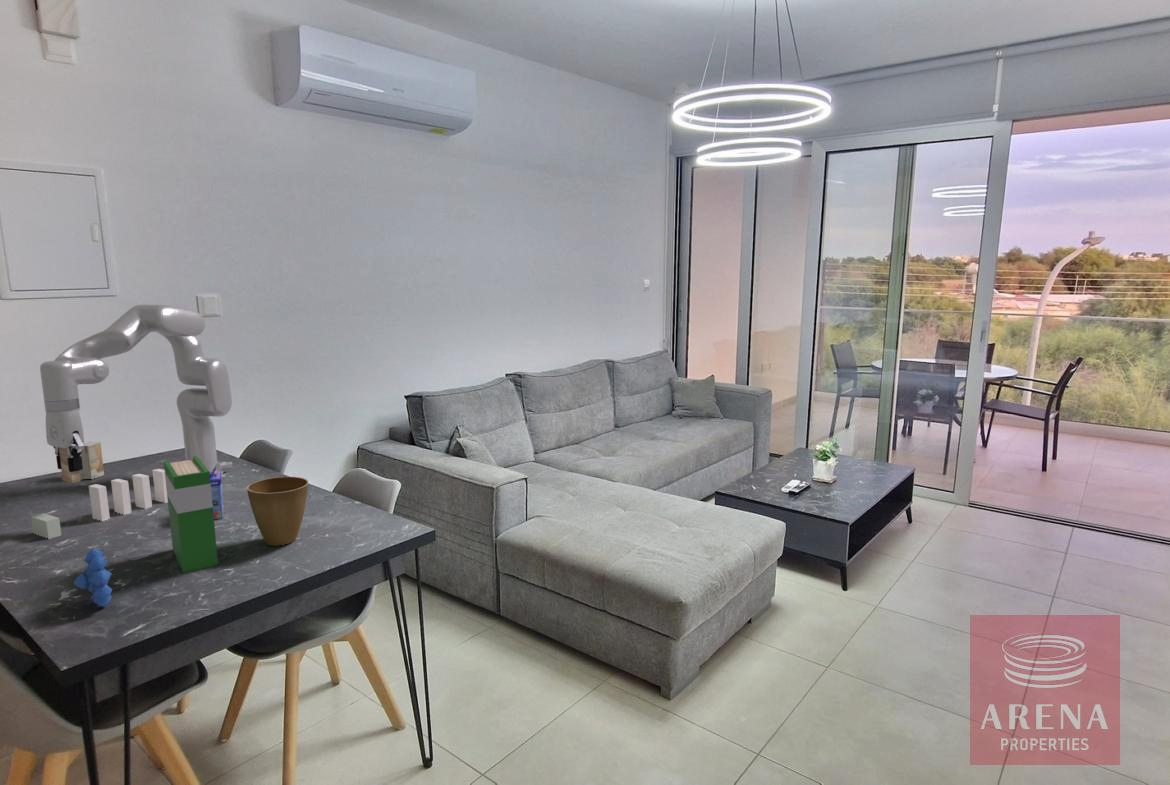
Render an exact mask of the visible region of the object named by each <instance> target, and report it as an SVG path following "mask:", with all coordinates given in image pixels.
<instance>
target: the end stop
mask: <svg viewBox="0 0 1170 785" xmlns="http://www.w3.org/2000/svg"><path fill="white" fill-rule="evenodd" d="M30 521H31V526H32V534H33V533H34V534H33V535H35V534H36V535H35V536H38V535H39V536H38V537H41V536H42V538H44V537H45V538H44V539H47V538H48V539H47V540H51V539H54V538H57V537H61V536H62V528H61V522H60V517H57V516H55V515H51V514H47V513H44V512H42V513H39V514H36V515H32V516H30Z"/></svg>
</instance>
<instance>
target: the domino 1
mask: <svg viewBox="0 0 1170 785" xmlns="http://www.w3.org/2000/svg"><path fill="white" fill-rule="evenodd" d="M71 446H73V444H71ZM73 449H75V448H72V449H71V450H72V451H73ZM59 455H60V461H61V469H60V471H61V476H62V477H61V478H62V481H63V482H68V483H71V484H72V483H73V484H74V483H78V482H81V480H82V479H80V472H79V471H74V472H69V468H68V460H67V458H69V456H68V452H67V448H59Z"/></svg>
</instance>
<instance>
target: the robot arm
mask: <svg viewBox="0 0 1170 785" xmlns="http://www.w3.org/2000/svg"><path fill="white" fill-rule="evenodd" d="M205 328H206V320H205V318H204V317H203V315H202V314H201V313H199V312H198V311H196V310H191V309H186V308H181V307H176V306H173V305H164V304H138V305H137V304H136V305H134V306H132V307H131V308H129V309H128V310H127V311H126V312H125V313H123V314H122V315H121V316H120V317H119V318H118V319H117V320H115V321H114V322H113V323H111V325H110V326H108V327H107V328H106V329H104V330H102V331H100V332H97V333H95V334H92V335H91V336H88V337H86V338H84V339H81V340H79V341H77V342H75V343H74V344H72V345H70V346H69V347H67V348H66V349H65V350H64V351H62V352H61V353H60V354H59V355H57V357H56V358H55V359H54V360H51V361H50V360H48V361H44V362H42V363H41V364H40V367H39V370H40V372H39V373H40V378H41V379H40V380H41V388H42V394H43V404H44V411H45V432H46V433H45V435H46V443H47V445H49V446H52V447H53V449H54V454H55V455H56V465H57V466H56V467H57V469H58V470H61V461H60V455H59V448H67V452H68V456H69V458H67V460H68V468H69V472H74V471H79V470H82V469H83V465H82V457H81V456H82V450H83V449H84V445H83V444H84V443H85V436H84V429H83V428H84V427H83V424H82V419H81V416H80V410H81V405H80V397H79V388H78V386H79V385H94V384H95V385H96V384H99V383H102V382H103V381H105V380H106V379H107V377H108V376H109V374H110V368H109V366H108V364H107V363H106V362H105V361H104V360H102V359H105V358H108V357H109V358H111V357H113V356H118V355H121V354H126V353H128V352H130V351H132V350H133V349H134V347H136V346H137V345H138V344H139V343H140V342H141V341H142V340H143V339H144V338H145V337H146V336H148V335H149V334H151V333H153V332H155V333H158V334H159V335H161V336H163V337H164V338H165V339H166V340H167V341H168V342H169V343H170V345H171V348H172V351H173V356H174V362H175V368H176V375H177V378H178V380H179V382H180V383H181V384H183V385H188V386H201V387H202V386H203V387H205V388H203V387H202V388H200V387H197V388H196V387H194V388H193V387H191V388H186V389H184V390H182V391H181V392H179V393H178V395H177V398H176V407H177V410H178V413H179V416H180V420H181V426H182V433H183V434H182V436H183V444H184V453H185V454H184V456H185V461H187V460H193V457H194V456H197V457H198V458H199V459H200V461H201V462H202V463H203V464H204V465H205V467H206V468H207V469H208V470H209V472H213V469H214V468H215V466H216V470H215V472H216V471H221V476H222V475H223V474H224V469H225V468H233V461H228V462H227V461H222V462H220V461H218V456H217V447H216V446H217V444H216V443H217V442H216V433H215V432H216V431H215V426H214V423H213V421H212V419H211V417H224V416H226V415H228V414H229V413H230V411H231V409H232V406H233V405H232V402H233V400H232V392H231V385H230V384H231V383H230V379H229V378H230V376H229V372H228V369H227V366H226V365H225V363H224V362H223V361H221V360H220V359H218V358H208V357H205V355H204V353H203V352H204V351H203V347H202V344H201V340H200V338H199V337H198V336H199V335H201V334H202V333H203V332H204V330H205ZM71 445H72V446H71ZM72 448H75V449H73V451H72V450H71V449H72Z"/></svg>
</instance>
